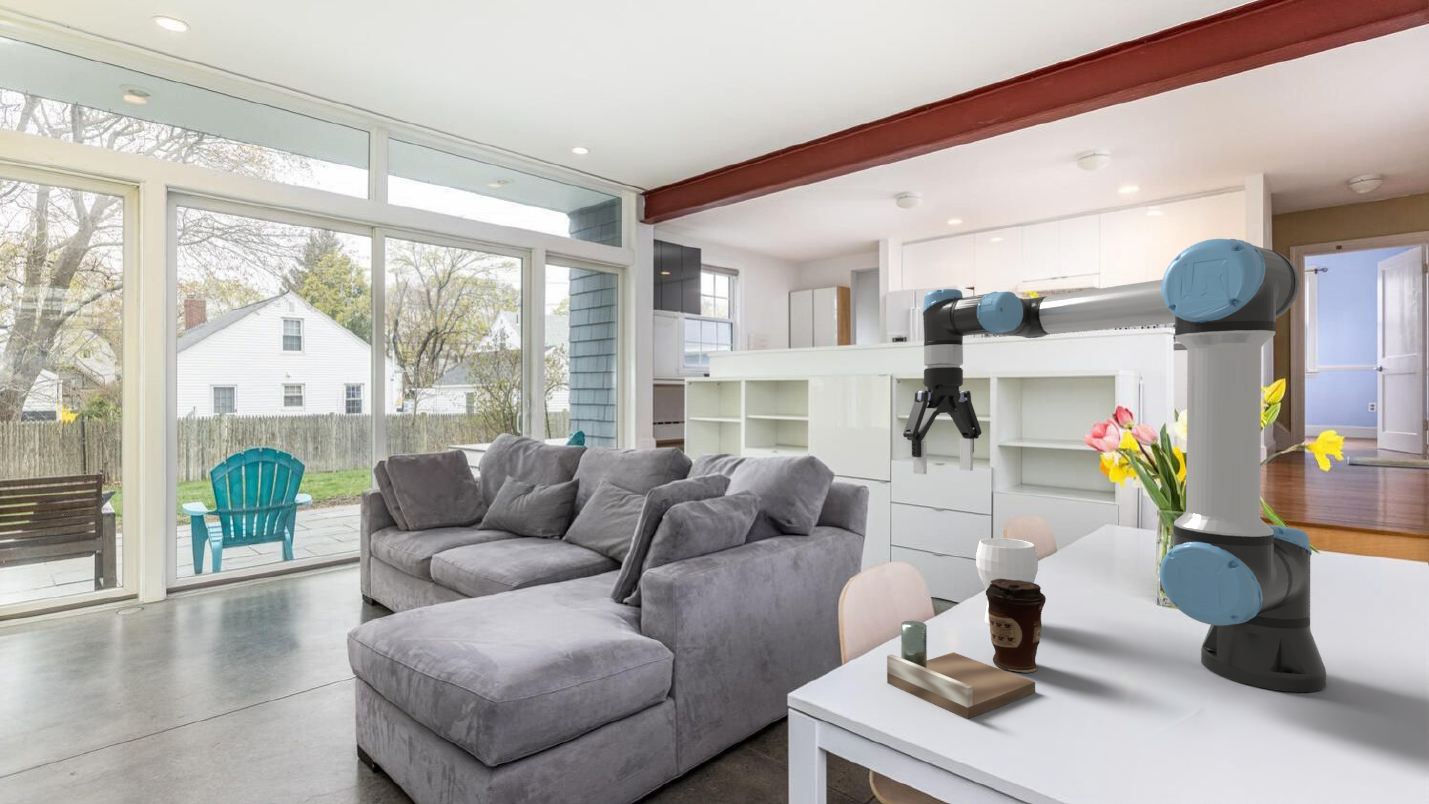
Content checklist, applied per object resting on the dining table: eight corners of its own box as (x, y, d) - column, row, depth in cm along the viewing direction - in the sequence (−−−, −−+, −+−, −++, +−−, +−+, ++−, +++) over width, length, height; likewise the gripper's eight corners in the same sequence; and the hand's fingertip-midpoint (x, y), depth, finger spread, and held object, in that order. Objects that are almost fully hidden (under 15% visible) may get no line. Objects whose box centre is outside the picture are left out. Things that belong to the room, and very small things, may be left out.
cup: (1030, 636, 122) (1030, 551, 122) (968, 625, 128) (968, 544, 128) (1044, 621, 130) (1043, 541, 130) (985, 611, 137) (985, 535, 137)
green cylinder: (931, 673, 102) (931, 625, 102) (915, 678, 100) (915, 630, 100) (912, 665, 105) (912, 619, 105) (896, 670, 103) (896, 623, 103)
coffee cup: (1014, 680, 103) (1014, 592, 103) (973, 661, 111) (973, 579, 111) (1057, 670, 107) (1056, 586, 107) (1014, 653, 114) (1013, 574, 114)
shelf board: (1035, 692, 99) (1035, 664, 99) (967, 718, 91) (967, 688, 91) (953, 661, 111) (953, 636, 111) (887, 682, 102) (887, 655, 102)
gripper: (969, 369, 150) (969, 467, 150) (884, 366, 137) (885, 473, 137) (999, 367, 144) (999, 469, 144) (913, 364, 131) (913, 477, 131)
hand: (943, 472), depth 141 cm, fingers open, 13 cm apart
